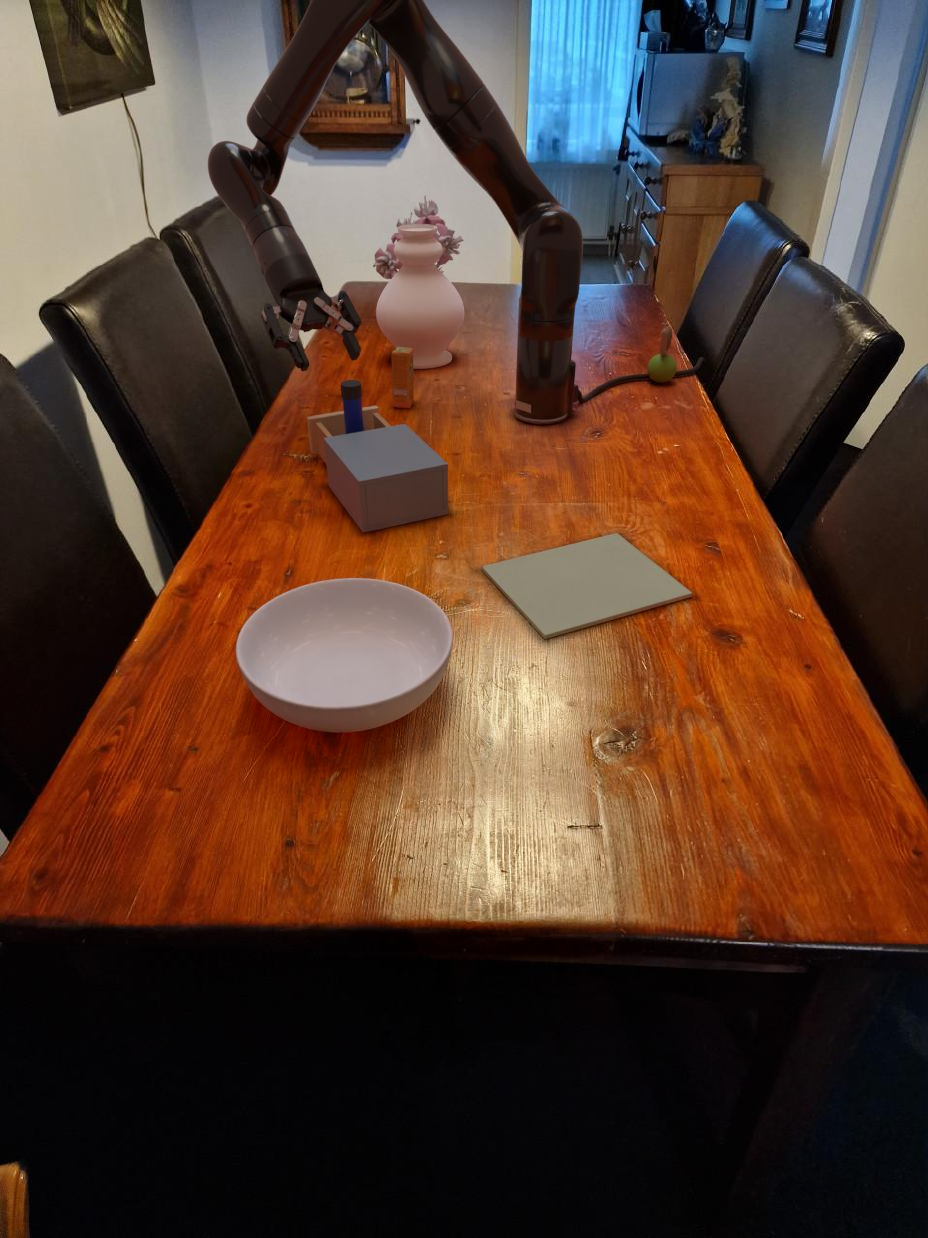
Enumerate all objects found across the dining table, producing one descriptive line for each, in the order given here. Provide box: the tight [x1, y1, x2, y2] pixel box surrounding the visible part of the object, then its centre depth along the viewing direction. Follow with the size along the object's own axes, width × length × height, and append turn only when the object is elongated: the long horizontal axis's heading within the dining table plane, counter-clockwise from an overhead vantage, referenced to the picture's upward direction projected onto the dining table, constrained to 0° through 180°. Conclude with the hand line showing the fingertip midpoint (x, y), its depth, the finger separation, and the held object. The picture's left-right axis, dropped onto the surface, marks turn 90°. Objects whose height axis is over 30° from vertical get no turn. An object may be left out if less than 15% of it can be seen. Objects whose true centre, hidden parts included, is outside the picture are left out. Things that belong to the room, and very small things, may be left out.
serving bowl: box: [235, 577, 454, 733], centre depth 81 cm, size 21×21×7 cm
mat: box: [481, 532, 693, 640], centre depth 99 cm, size 20×16×1 cm
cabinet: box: [323, 423, 449, 534], centre depth 115 cm, size 16×13×8 cm
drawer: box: [306, 405, 392, 464], centre depth 125 cm, size 19×11×6 cm, turn 25°
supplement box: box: [391, 347, 414, 409], centre depth 145 cm, size 3×3×10 cm
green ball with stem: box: [646, 322, 678, 384], centre depth 154 cm, size 5×6×12 cm
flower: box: [372, 195, 465, 280], centre depth 193 cm, size 20×22×25 cm
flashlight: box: [340, 379, 364, 434], centre depth 123 cm, size 3×3×11 cm
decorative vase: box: [375, 223, 466, 370], centre depth 162 cm, size 18×18×25 cm
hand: (331, 362), depth 122 cm, fingers open, 8 cm apart
